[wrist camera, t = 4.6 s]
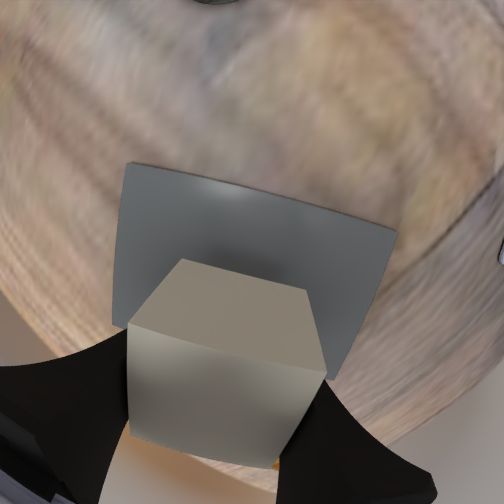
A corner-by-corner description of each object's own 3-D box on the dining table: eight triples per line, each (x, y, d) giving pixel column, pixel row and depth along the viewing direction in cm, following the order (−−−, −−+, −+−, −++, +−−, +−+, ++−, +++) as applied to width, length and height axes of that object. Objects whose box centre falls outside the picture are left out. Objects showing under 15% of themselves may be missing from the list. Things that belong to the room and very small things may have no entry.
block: (306, 289, 11) (327, 372, 7) (271, 382, 13) (270, 469, 8) (181, 258, 11) (127, 322, 7) (167, 356, 13) (130, 435, 8)
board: (393, 229, 16) (398, 232, 15) (332, 373, 20) (333, 380, 19) (132, 162, 16) (126, 162, 15) (117, 319, 19) (112, 324, 18)
